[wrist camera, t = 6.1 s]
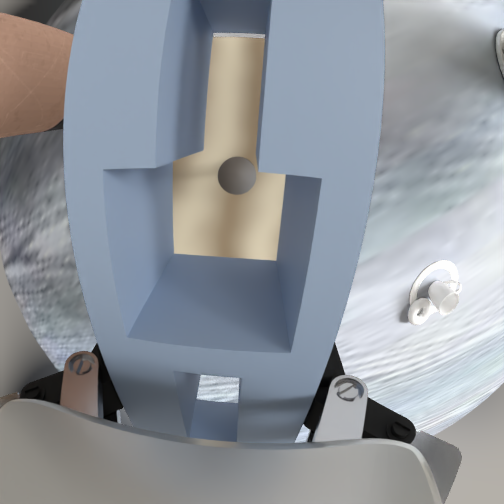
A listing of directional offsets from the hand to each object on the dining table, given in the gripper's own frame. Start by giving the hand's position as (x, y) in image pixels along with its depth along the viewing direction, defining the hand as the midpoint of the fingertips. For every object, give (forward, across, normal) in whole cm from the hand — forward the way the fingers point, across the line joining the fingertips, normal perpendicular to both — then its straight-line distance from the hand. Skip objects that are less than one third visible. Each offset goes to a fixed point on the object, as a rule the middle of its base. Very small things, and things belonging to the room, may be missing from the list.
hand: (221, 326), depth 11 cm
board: (+15, 0, 0) cm, 15 cm away
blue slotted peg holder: (+1, 0, -4) cm, 4 cm away
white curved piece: (+16, -22, +6) cm, 28 cm away
